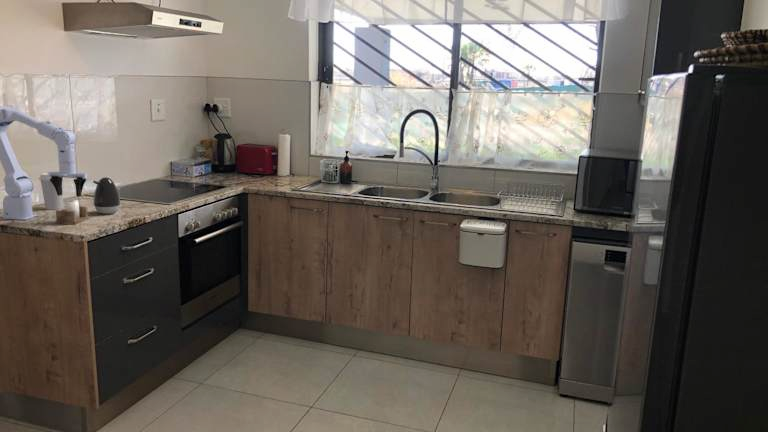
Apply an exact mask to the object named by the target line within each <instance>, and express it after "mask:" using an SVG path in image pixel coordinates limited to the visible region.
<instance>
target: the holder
mask: <svg viewBox="0 0 768 432" xmlns="http://www.w3.org/2000/svg"><path fill="white" fill-rule="evenodd" d="M79 214H80V218H79V219H76V218H75V211H69V209H65V208H62V209H57V210H55V216H56V217H55V218H56V220H54V224H55V225H57V224H58V225H73V226H75V225H78V224H79V223H82V222H84V221H86V220H87V221H88V220H90V215H88V207H87V206H86V205H85V206H82V204H79Z"/></svg>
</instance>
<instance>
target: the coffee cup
mask: <svg viewBox="0 0 768 432" xmlns="http://www.w3.org/2000/svg"><path fill="white" fill-rule="evenodd" d="M50 178H52V177H49V175H48V172H43V173H41V174H40V175H39V178H38V179H39V181H40V184H41V185H40V186H41V191H42V196H43V202H44V207H45V209H46V210H47V211H48V210H50V211H52V210H53V211H57V210H62V209H64V206H63V205H64V202H63V201H64V179H65V177H63V180H62V195H60V196H58V195H57V192H56V189H55V187H54V185H53V184H52V182H51V181H50Z"/></svg>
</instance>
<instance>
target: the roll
mask: <svg viewBox="0 0 768 432" xmlns="http://www.w3.org/2000/svg"><path fill="white" fill-rule="evenodd" d="M63 201H64V202H63V205H64V209H69V211H75V218H76V219H79V218H80V214H79V205H80V203H79V202H80V201H79V200H78V199H67V200H63Z"/></svg>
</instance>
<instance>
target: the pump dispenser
mask: <svg viewBox="0 0 768 432" xmlns="http://www.w3.org/2000/svg"><path fill="white" fill-rule="evenodd" d="M92 183H94V184H96V187H95V190H94V194H93V195H94V196H93V206H94V208H95V210H96V212H98V213H99V214H101V215H112V214H115V213H116V212H117V211H119V208H120V206H121V199H120V194H119V191H118V188H117V186H116V184H115V183H114V181H113V180H112V178H109V177H106V176H105V177H101V178H100V179H99V180H98V181H97V180H93V182H92Z"/></svg>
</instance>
